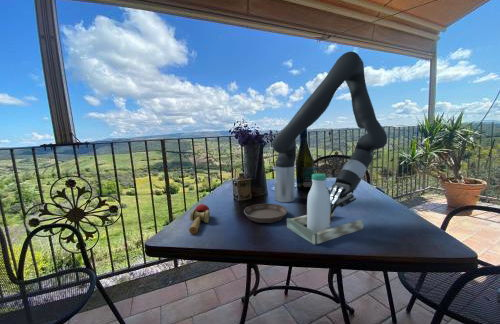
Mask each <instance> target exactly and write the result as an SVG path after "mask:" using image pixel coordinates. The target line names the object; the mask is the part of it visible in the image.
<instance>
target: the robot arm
mask: <svg viewBox="0 0 500 324" xmlns="http://www.w3.org/2000/svg"><path fill="white" fill-rule="evenodd" d="M364 65H365V64H364V61H363V59H362V58H361V57H360V55H359V54H358V53H357V52H356V51H347V52H345V53H343V54H342V55H341V56H340V57H338V59H336V62H335V63H334V64H333V65H332V66H331V68H330V70H329V72H328V73H327V75H326V76H325V77H324V79H323V80H322V81H321V82H320V84H319V85H318V86H317V87H316V89H314V91H313V92H312V93H311V94H310V96H309V97H308V98H307V99H306V100H305V102H304V103H303V104H302V105H301V107H300V108H299V109H298V111H297V112H296V113H295V115H294V116H293V117H292V118H291V120H290V121H289V122H288V123H287V124H286V126H284V128H283V129H282V130H280V131H279V132H278V133H277V134H276V136H274V138H273V139H272V149H273V150H274V152H277V154H278V155H277V158H276V160H275V181H274V200H275V201H277V202H280V203H292V202H294V201H295V200H296V199H295V198H296V196H295V195H296V191H295V190H296V189H295V186H296V185H295V183H296V182H295V181H296V180H295V163H296V159H297V158H296V157H297V155H296V154H297V141H296V139H297V138H298V137H299V136H300V135H301V134H302V133H303V132H304V131H305V130H306V129H308V128H309V127H311V126H312V125H313V124H315V123H316V122H317V120H319V118H320V117H321V116H322V115H323V114H324V113H325V112H326V110H328V108H329V106H330V104H331V102H332V100H333V98H334V95H335V94H336V92H337V90H338V89H339V88H340V87H341V86H342V84H344V82H345V84H346V85H347V87H348V91H349V93H350V96H351V97H350V98H351V106H352V112H353V116H354V119H355V124H356V126H357V127H358V128H359V129H365V131H366V134H363V135H362V136H361V137H360V138H359V139H358V141H357V142H356V144H355V148H354V150H353V153H352V154H351V156H350V157H349V159H348V161H347V162H346V163H345V164H344V166H343V167H342V169H341V170H340V171H339V173H338V175H337V176H336V178H335V182H334V184H333V183H332V185H331V187H327V186H326V188H327V190H328V192H329V195H330V200H331V214H332V213H333V212H334V213H335V210H336V208H338V207H340V208H344V207H345V206H347V205H349V204H351V203H353V202H355V201H356V200H357V198H356V197H355V195H354V191H355V190H356V189H357V188H358V186H359V185H360V183H361V182H362V179H363V178H364V176H365V175H366V172H367V170H368V169H369V167H370V165H371V164H372V161H373V154H372V152H374V151H376V150H380V149H382V148H384V147H386V145H387V143H388V135H387V133H386V131H385V129H384V128H383V126H382V125H381V123H380V122H379V120H378V119H377V116H376V113H375V110H374V106H373V103H372V100H371V98H370V95H369V91H368V89H367V84H366V77H365V67H364Z"/></svg>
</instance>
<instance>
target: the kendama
mask: <svg viewBox="0 0 500 324" xmlns="http://www.w3.org/2000/svg"><path fill="white" fill-rule="evenodd" d="M210 213H211V212H210V208H209V206H208V205H206V204H205V203H200V204H197V206H196V207H195V209H192V210H191V211H190V217H189V220H190V221H192V224H191V226H190V227H189V229H188V231H189V233H190V234H191V235H196V234H198V230H199V227H200V225H201V224H200V223H201V221H202V222H204V223H205V224H207V223H209V222H210V221H209V220H210Z"/></svg>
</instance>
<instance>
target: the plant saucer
mask: <svg viewBox="0 0 500 324" xmlns="http://www.w3.org/2000/svg"><path fill="white" fill-rule="evenodd" d="M287 213H288V209H287V208H286V207H284V206H283V205H280V204H277V203H276V204H275V203H257V204H253V205H250V206H247V207H245V208H244V210H243V214H245V216H246V217H247V218H248V219H249V220H250V221H253V222H255V223H258V224H259V223H260V224H261V223H262V224H270V223H275V222H278V221H281V220H282V219H283V218H284V217H285V216H286V214H287Z"/></svg>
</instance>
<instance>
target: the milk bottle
mask: <svg viewBox="0 0 500 324" xmlns="http://www.w3.org/2000/svg"><path fill="white" fill-rule="evenodd" d="M311 181H312V185H311V187H310V190H309V191H308V194H307V199H306V200H307V201H306V215H307V224H306V227H307V228H308V229H310V230H312V231H314V232H316V233H317V232H321V231H324V230H327V229H330V228H332V227H331V225H332V223H331V222H332V221H331V219H332V217H331V200H330V195H329V192H328V190H327V188H328V187H327V185H326V181H327V174H325V173H321V172H319V173H312V174H311ZM326 187H327V188H326Z"/></svg>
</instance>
